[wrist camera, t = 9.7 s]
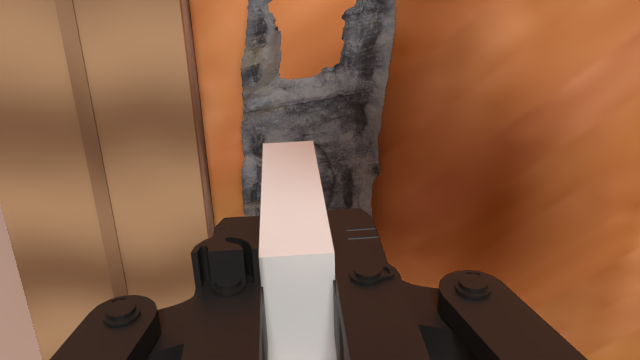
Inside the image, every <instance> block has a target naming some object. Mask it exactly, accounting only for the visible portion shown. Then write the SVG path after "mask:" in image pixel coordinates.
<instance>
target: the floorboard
mask: <svg viewBox="0 0 640 360" xmlns="http://www.w3.org/2000/svg"><path fill="white" fill-rule="evenodd" d="M0 204H1V207H2V211H3V215H4V218H5V222H6V226H7V230H8V234H9V237H10V241H11V244H12V248H13V252H14V256H15V260H16V263H17V267H18V270H19V274H20V278H21V281H22V285H23V289H24V293H25V296H26V300H27V304H28V308H29V311H30V315H31V319H32V322H33V326H34V330H35V333H36V337H37V341H38V344H39V348H40V352H41V356H42V359H43V360H50V358H51V357H52V356H53V355H54V354H55V353H56V351H57V350H58V349H59V348H60V347H61V345H62V344H63V343H64V342H65V341H66V340H67V338H68V337H69V336H70V335H71V334H72V333H73V331H74V330H75V329H76V328H77V327H78V325H79V324H80V323H81V322H82V321H83V320H84V318H85V317H86V316H87V315H88V314H89V313H90V312H91V311H92V310H93V309H94V308H95V307H97V306H98V305H99V304H101V303H103V302H105V301H107V300H109V299H112V298H115V297H119V296H124V295H140V296H145V297H148V298H150V299H151V300H153V301H154V302H155V304H156V307H157V310H159V309H163V308H166V307H170V306H173V305H176V304H179V303H182V302H184V301H186V300H188V299H190V298H191V297H193V296H194V293H195V281H194V273H193V266H192V259H191V252H192V250H193V248H194V247H195V246H196V245H197V244H199V243H200V242H202V241H203V240H206V239H209V238H211V237H213V232H214V228H215V225H214V216H213V208H212V199H211V190H210V181H209V173H208V164H207V155H206V146H205V137H204V129H203V120H202V111H201V102H200V94H199V85H198V76H197V67H196V59H195V50H194V41H193V32H192V23H191V15H190V6H189V0H0Z"/></svg>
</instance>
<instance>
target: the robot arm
mask: <svg viewBox="0 0 640 360" xmlns="http://www.w3.org/2000/svg"><path fill="white" fill-rule="evenodd" d="M191 259H192V266H193V273H194V281H195V293H194V296H193V297H191V298H190V299H188V300H186V301H184V302H182V303H179V304H176V305H173V306H170V307H166V308H163V309H159V310H157V307H156V304H155V302H154V301H153V300H151V299H150V298H148V297H145V296H140V295H124V296H119V297H115V298H112V299H109V300H107V301H105V302H103V303H101V304H99V305H98V306H97V307H95V308H94V309H93V310H92V311H91V312H90V313H89V314H88V315H87V316H86V317H85V318H84V320H83V321H82V322H81V323H80V324H79V325H78V327H77V328H76V329H75V330H74V331H73V333H72V334H71V335H70V336H69V337H68V338H67V340H66V341H65V342H64V343H63V344H62V345H61V347H60V348H59V349H58V350H57V351H56V353H55V354H54V355H53V356H52V357H51V358H50V360H337V357H338V360H587V359H586V358H585V357H584V356H583V355H582V354H581V353H580V352H579V351H577V350H576V349H575V348H574V347H573V346H572V345H571V344H570V343H569V342H568V341H566V340H565V339H564V338H563V337H562V336H561V335H560V334H559V333H558V332H557V331H555V330H554V329H553V328H552V327H551V326H550V325H549V324H548V323H547V322H546V321H544V320H543V319H542V318H541V317H540V316H539V315H538V314H537V313H536V312H535V311H533V310H532V309H531V308H530V307H529V306H528V305H527V304H526V303H525V302H524V301H522V300H521V299H520V298H519V297H518V296H517V295H516V294H515V293H514V292H513V291H511V290H510V289H509V288H508V287H507V286H506V285H505V284H504V283H503V282H501V281H500V280H498V279H497V278H495V277H494V276H492V275H489V274H486V273H483V272H479V271H472V270H465V271H455V272H453V273H450V274H447V275H445V276H444V277H443V278H442V279H441V280H440V283H439V289H437V288H429V287H422V286H417V285H413V284H410V283H407V282H404V281H403V280H402V279H401V276H400V274H399V272H398V271H397V270H396V268H395V267H393V266H391V265H390V264H388V262H387V259H386V256H385V253H384V250H383V247H382V245H381V242H380V239H379V237H378V233H377V230H376V227H375V224H374V221H373V218H372V216H370V215H369V214H368V213H367V212H365V211H364V210H363V209H361V208H354V209H338V210H326V206H325V201H324V195H323V190H322V185H321V180H320V175H319V169H318V164H317V159H316V154H315V149H314V143H313V141H300V142H281V143H263V156H262V182H261V209H260V216H247V217H231V218H224V219H223V220H222V221H221V222H220V223H219V224H218V225H217V226H216V227H215V228H214V232H213V237H211V238H209V239H206V240H203V241H202V242H200V243H199V244H197V245H196V246H195V247H194V248H193V250H192V252H191Z"/></svg>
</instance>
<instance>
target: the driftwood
mask: <svg viewBox="0 0 640 360" xmlns="http://www.w3.org/2000/svg"><path fill="white" fill-rule="evenodd" d="M248 1H249V5H248V10H249V11H248V19H247V30H246V41H245V44H246V48H245V50H244V53H245V54H244V56H243V58H242V67H241V76H242V80H243V83H242V86H243V93H242V96H243V100H244V109H243V115H244V116H243V121H242V143H243V152H244V155H245V160H244V166H243V169H242V186H243V203H244V207H245V208H244V213H245V216H246V217H247V216H260V209H261V182H262V156H263V143H281V142H300V141H313V143H314V149H315V154H316V159H317V164H318V169H319V175H320V180H321V185H322V190H323V195H324V201H325V206H326V210H338V209H354V208H361V209H363V210H364V211H365V212H367V213H368V214H369V215H370V216H372V207H371V199H372V197H371V196H372V192H373V189H372V188H373V182H374V180H375V178H376V177H377V176H378V174H379V172H380V163H379V159H378V155H379V149H378V135H379V132H380V130H381V126H382V109H383V107H384V97H385V96H386V95H385V91H386V88H387V87H386V85H387V80H388V79H389V78H388V76H389V73H388V69H389V65H390V62H391V51H392V47H393V40H394V30H395V23H396V22H395V21H396V0H357V2H356V4H355V6H354V7H352V8H349V9H347V10H346V11H345V12H344V14H343V15H342V19H343V20H345V26H344V28H343V35H342V40H343V41H344V42H345V43H344V46H343V49H342V51H341V59H340V63H339V64H336V65H335V66H334V67H332V68H329V67H325V68H323V69H322V70H321V73H319V74H318V75H316V76H313V77H308V78H299V79H292V80H289V79H282V78H280V79H279V76H280V74H279V68H280V61H281V49H280V45H281V31H278V30H277V29H278V27H276V26H275V23H274V22H275V18H274V16H273V14H272V13H270V12H269V11H268V3H269V2H271V1H272V0H248ZM372 218H373V216H372Z"/></svg>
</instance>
